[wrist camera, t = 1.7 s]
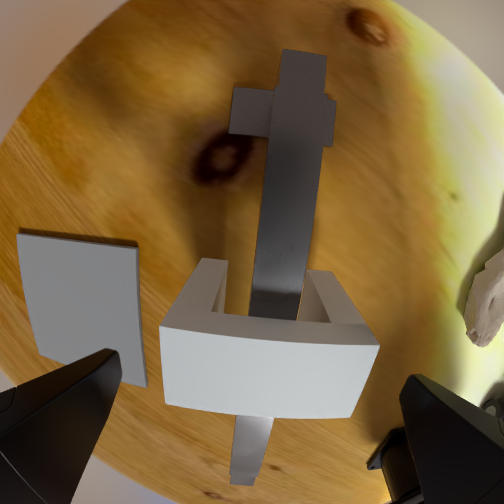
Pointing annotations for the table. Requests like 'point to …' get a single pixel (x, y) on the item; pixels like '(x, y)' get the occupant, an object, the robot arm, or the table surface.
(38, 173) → the table surface
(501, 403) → the toy vehicle
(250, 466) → the stand
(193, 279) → the c link
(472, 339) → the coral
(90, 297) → the mat
